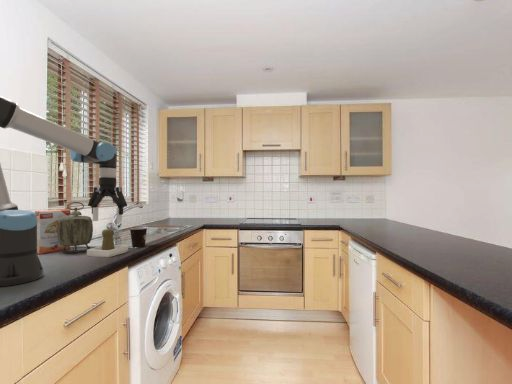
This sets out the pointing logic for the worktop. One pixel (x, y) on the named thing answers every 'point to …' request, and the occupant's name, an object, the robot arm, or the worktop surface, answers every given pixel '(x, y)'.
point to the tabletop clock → (75, 229)
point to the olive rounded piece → (108, 239)
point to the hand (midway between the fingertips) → (107, 221)
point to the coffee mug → (138, 236)
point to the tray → (107, 251)
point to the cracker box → (49, 230)
